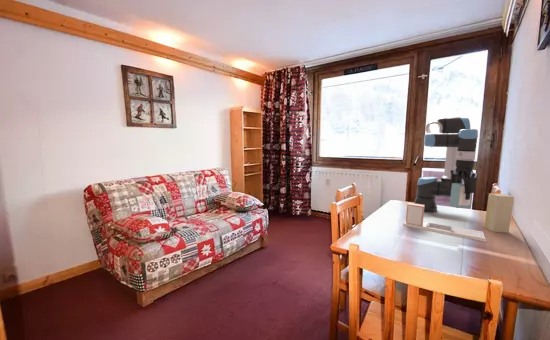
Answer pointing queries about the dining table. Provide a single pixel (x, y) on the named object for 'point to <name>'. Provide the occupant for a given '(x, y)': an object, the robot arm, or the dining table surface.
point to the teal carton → (458, 195)
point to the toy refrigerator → (499, 212)
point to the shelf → (450, 230)
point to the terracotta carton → (415, 214)
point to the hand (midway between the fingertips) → (460, 204)
